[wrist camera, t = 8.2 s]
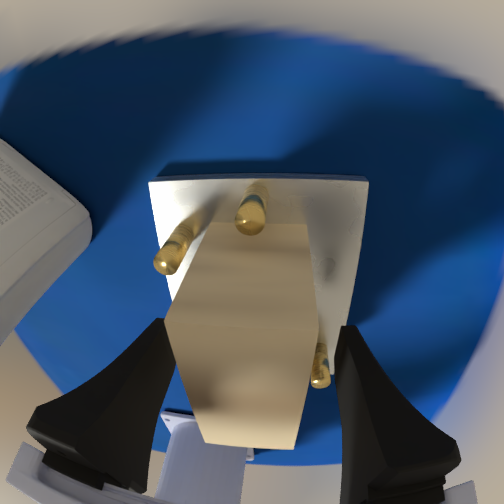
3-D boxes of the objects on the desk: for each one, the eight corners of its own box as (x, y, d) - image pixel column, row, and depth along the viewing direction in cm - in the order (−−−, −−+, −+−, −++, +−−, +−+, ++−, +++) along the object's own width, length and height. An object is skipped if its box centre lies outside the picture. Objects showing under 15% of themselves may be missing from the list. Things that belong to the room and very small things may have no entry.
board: (294, 353, 17) (293, 449, 11) (224, 350, 17) (205, 442, 12) (306, 224, 12) (318, 329, 7) (210, 222, 13) (164, 320, 8)
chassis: (332, 364, 18) (336, 406, 15) (193, 358, 19) (181, 398, 16) (364, 176, 12) (387, 204, 9) (155, 176, 13) (122, 203, 10)
